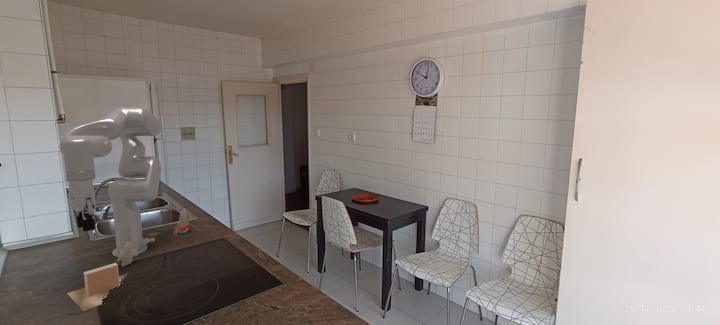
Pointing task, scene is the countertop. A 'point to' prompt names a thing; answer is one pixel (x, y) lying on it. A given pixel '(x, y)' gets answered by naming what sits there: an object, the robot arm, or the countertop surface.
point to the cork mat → (91, 301)
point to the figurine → (182, 223)
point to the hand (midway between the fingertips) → (86, 227)
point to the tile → (101, 279)
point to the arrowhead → (127, 254)
